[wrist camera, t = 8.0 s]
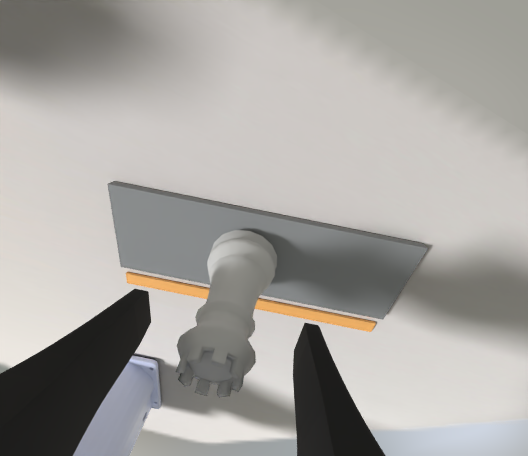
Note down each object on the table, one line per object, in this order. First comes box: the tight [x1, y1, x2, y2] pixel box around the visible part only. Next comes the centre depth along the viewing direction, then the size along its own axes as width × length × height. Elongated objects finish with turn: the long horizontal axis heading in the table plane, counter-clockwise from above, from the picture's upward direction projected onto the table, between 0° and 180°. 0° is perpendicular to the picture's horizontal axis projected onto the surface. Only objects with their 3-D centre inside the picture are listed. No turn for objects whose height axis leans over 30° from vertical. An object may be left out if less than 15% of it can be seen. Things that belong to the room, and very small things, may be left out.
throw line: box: [126, 272, 376, 332], centre depth 18 cm, size 1×20×1 cm, turn 80°
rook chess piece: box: [176, 230, 277, 397], centre depth 12 cm, size 4×4×8 cm
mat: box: [108, 181, 428, 319], centre depth 16 cm, size 6×20×1 cm, turn 80°
